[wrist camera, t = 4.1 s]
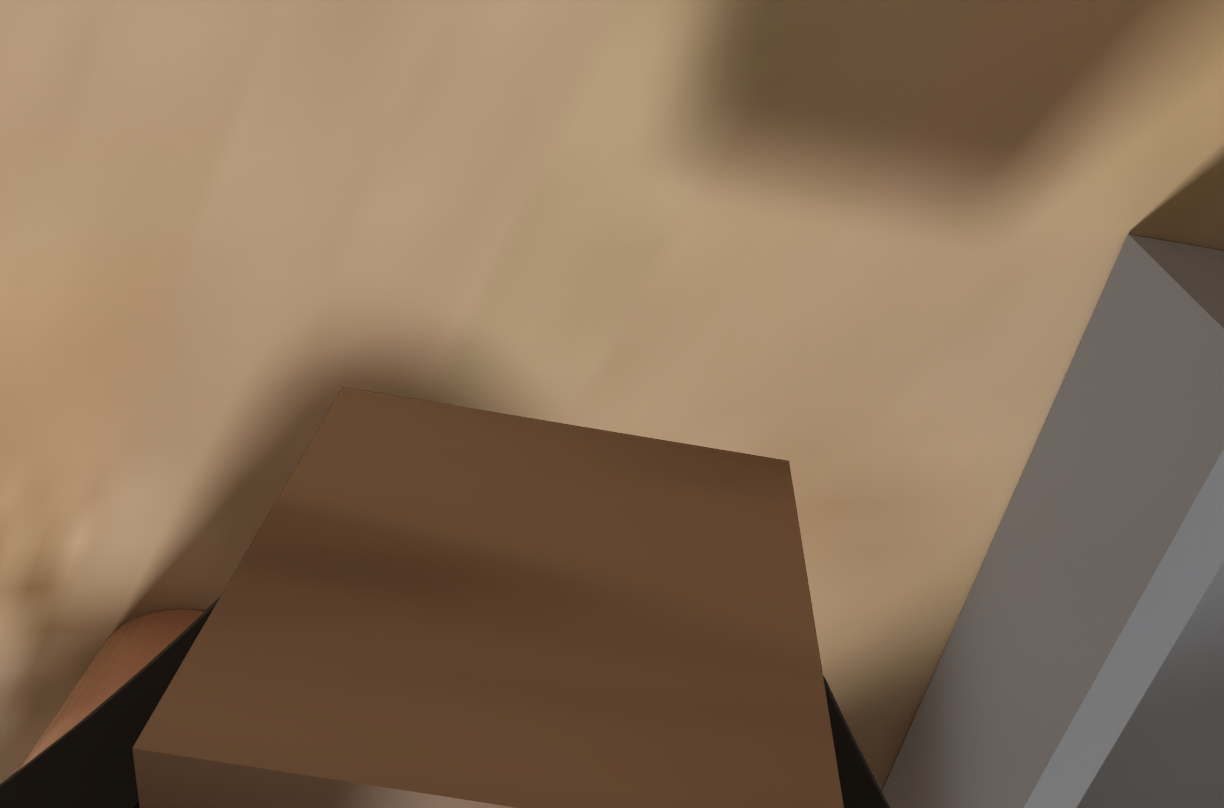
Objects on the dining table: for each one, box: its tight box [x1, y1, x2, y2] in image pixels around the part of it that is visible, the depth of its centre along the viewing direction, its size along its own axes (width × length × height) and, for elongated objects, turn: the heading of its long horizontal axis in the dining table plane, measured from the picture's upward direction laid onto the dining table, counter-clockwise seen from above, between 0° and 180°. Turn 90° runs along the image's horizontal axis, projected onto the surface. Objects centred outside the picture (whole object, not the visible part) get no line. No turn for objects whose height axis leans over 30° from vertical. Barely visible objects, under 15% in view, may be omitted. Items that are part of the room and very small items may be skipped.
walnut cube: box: [132, 387, 844, 808], centre depth 10 cm, size 5×5×5 cm
